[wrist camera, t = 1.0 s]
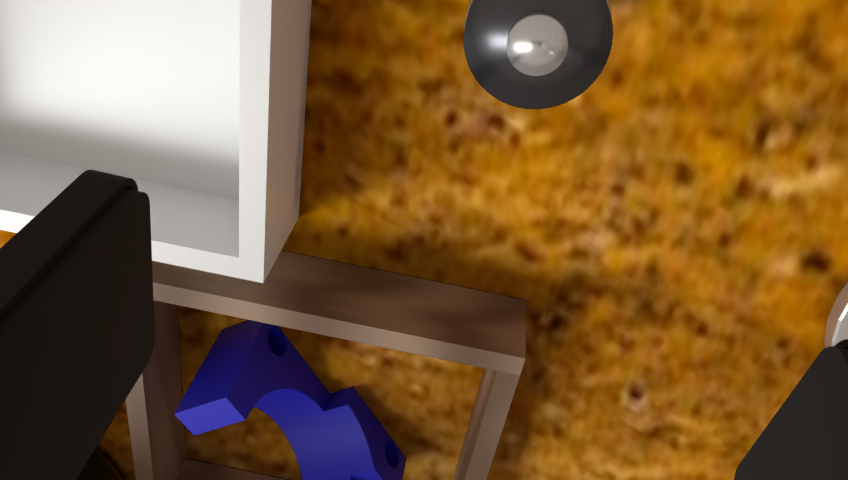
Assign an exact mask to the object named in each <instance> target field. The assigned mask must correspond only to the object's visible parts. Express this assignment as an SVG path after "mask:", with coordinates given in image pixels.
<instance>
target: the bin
mask: <svg viewBox="0 0 848 480" xmlns="http://www.w3.org/2000/svg"><path fill="white" fill-rule="evenodd" d="M311 9H312V0H0V230H5V231H10V232H14V233H18V232H19V231H20V230H21V229H22V228H23V227H24V226H25V225H26V224H28V223H29V222H30V221H31V220H32V219H33V218H34V217H35V216H36V215H37V214H38V213H39V212H41V211H42V210H43V209H44V208H45V207H46V206H47V205H48V204H49V203H50V202H51V201H52V200H54V199H55V198H56V197H57V196H58V195H59V194H60V193H61V192H62V191H63V190H64V189H65V188H66V187H68V186H69V185H70V184H71V183H72V182H73V181H74V180H75V179H76V178H77V177H78V176H79V175H81V174H82V173H83V172H85V171H86V170H96V171H101V172H105V173H110V174H114V175H119V176H123V177H128V178H132V179H133V180H135V181H136V184H137V186H138V191H141V192H145V193H146V194H148V197H149V201H150V220H151V246H152V261H157V262H161V263H166V264H171V265H176V266H181V267H186V268H191V269H196V270H201V271H206V272H210V273H215V274H220V275H225V276H230V277H235V278H240V279H245V280H250V281H255V282H260V283H264V281H265V279H266V277H267V276H268V274H269V272H270V270H271V268H272V266H273V265H274V263H275V261H276V259H277V257H278V255H279V253H280V252H281V250H282V248H283V246H284V244H285V242H286V240H287V239H288V237H289V235H290V233H291V231H292V229H293V227H294V226H295V224H296V222H297V220H298V218H299V204H300V188H301V171H302V155H303V139H304V123H305V106H306V90H307V74H308V57H309V41H310V25H311Z"/></svg>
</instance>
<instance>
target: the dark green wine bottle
mask: <svg viewBox="0 0 848 480" xmlns="http://www.w3.org/2000/svg"><path fill="white" fill-rule="evenodd" d="M76 480H122V478H121V477H120V475H119V473H118V472H117V470H116V469H115V467H114V466H113V465H112V464H111V463H110V462H109V460H108V459H107V458H106V457H105V456H104V455H102V454H101V453H100V452H99V451H98V450H97V449H96V448H95V450H94V451H93V453H92V454H91V456H90V458H89V459H88V461H87V463H86V464H85V466H84V467H83V469H82V471H81V472H80V474H79V475H78V477H77V479H76Z"/></svg>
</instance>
